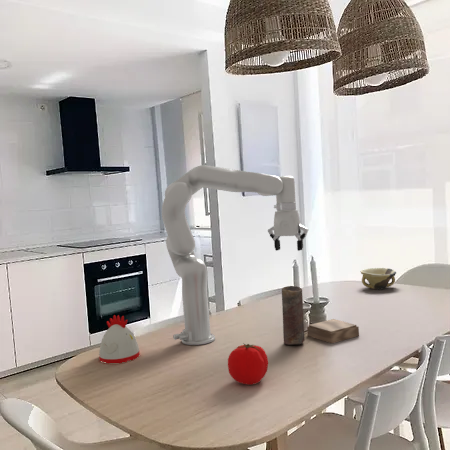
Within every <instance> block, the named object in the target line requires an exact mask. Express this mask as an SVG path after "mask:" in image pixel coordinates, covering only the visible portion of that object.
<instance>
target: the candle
mask: <svg viewBox="0 0 450 450" xmlns="http://www.w3.org/2000/svg"><path fill="white" fill-rule="evenodd" d="M281 302H282V303H281V306H282V328H283V329H282V331H283V334H282V335H283V338H282V339H283V344H285V345H288V346H299V345H301V344H303V343H304V342H305V339H306V338H305V322H304V321H305V319H304V302H303V288H302V287H299V286H295V285H288V286H284V287H282V288H281Z"/></svg>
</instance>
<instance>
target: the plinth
mask: <svg viewBox="0 0 450 450" xmlns="http://www.w3.org/2000/svg"><path fill="white" fill-rule="evenodd" d="M359 328H360V327H359V326H358V325H357V324H354V323H350V322H346V321H344V320H339V319H336V318H335V319H334V318H332V319H331V318H330V319H328V320H323V321H320V322H315V323H311V324H308V326H306V332H307V336H308V337H310V338H313V339H317V340H320V341H323V342H325V343H328V344H335V343H338V342H343V341H346V340H348V339H349V340H350V339H353V338H357V337H359V336H360V329H359ZM356 336H357V337H356Z"/></svg>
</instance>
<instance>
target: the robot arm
mask: <svg viewBox="0 0 450 450" xmlns="http://www.w3.org/2000/svg"><path fill="white" fill-rule="evenodd" d="M295 183H296V182H295V178H294V176H292V175H284V176H283V175H282V176H277V175H272V174H267V173H259V172H254V171H245V170H240V169H239V170H238V169H233V168H232V169H231V168H224V167H219V166H213V165H207V164H206V165H205V164H200V165H197V166H195V167H193V168H191V169H190V170H189V171H187V172H186V173H185V174H183V175H182V176H180V177H179V178H177V179H176V180H174V181H173V182H172V183H169V185H168V186H167V187H166V188H165V191H164V198H163V202H162V205H161V217H162V221H163V222H162V223H163V225H164V228H165V231H166V234H167V236H166V240H165V246H166V249H167V253H168V254H169V257H170V260H171V262H172V265H173V268H174V271H175V272H176V274H177V276H179V277H180V279H181V296H182V297H181V299H182V307H183V308H182V309H183V320H184V321H183V323H184V329H182V332H180V333H175V334H173V335H172V337H173V340H174V341H175V340H180V341H181V342H182V344H184V345H187V346H200V345H205V344H209V343H212V342H214V341H215V339H216V336H215V334H213V333H211V323H210V322H211V321H210V309H209V296H208V268H207V265H206V264H205V262H204V261H203V260H202V259H201V258H199V257H197V256H196V253H195V248H196V241H195V238H194V235H193V233H192V231H191V228H190V225H189V222H188V218H187V216H186V207H187V204H188V203H189V202H190V200H191V198H192V197H193V195H195V194H196V193H197V192H199V191H200V190H201V189H211V190H217V191H223V192H230V193H255V194H256V193H257V194H258V195H260V196H262V197H269V196H273V197H274V196H275V197H276V204H274V205H273V208H274V209H275V210H276V211H275V212H274V217H273V226H271V227H270V228H269V229H267V233H268V234H269V237H270V238H271V239H272V241H273V243H274V245H273V246H274V249H275V252H276V251H280V250H281V240H280V238H281V237H296V239H297V241H296V246H297V247H296V249H297V251H298V252H299V251H303V248H304V242H303V241H304V239H305V238H306V237H307V235H308V232H309V228H308V227H306V226H304V225H302V224H301V220H300V216H299V215H300V214H299V212H298V211H299V210H298V209H297V201H296V188H295V187H296V186H295V185H296V184H295ZM302 231H303V232H302ZM301 233H302V234H301Z"/></svg>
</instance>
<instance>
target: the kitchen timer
mask: <svg viewBox="0 0 450 450" xmlns="http://www.w3.org/2000/svg"><path fill="white" fill-rule="evenodd" d="M127 323H128V319H125V316H124V315H122V316H121V317H120V315H119V314H118V315H117V316H116V315H115V314H114V315H113V316H112V318H111V317H110V318H109V320H107V321H106V325H107V327H108V329H107V330H106V331H105V332H104V335H103V336H102V339H101V340H100V341H101V342H100V347H99V354H98V355H99V357H98V358H99V362H100V361H102V362H106V363H119V364H123V363H122V362H125V363H128V362H127V361H129V362H131V361H130V360H132V361H134V360H136V359H137V357H138V358H139V357H140V356H141V355H140V354H141V353H140V347H139V346H140V345H139V343H138V341H137V338H136V336H135V334H134V333H133V331H132V330H131V329H130V328H129V327H127ZM139 355H140V356H139ZM133 359H134V360H133ZM102 362H101V363H102Z"/></svg>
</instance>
